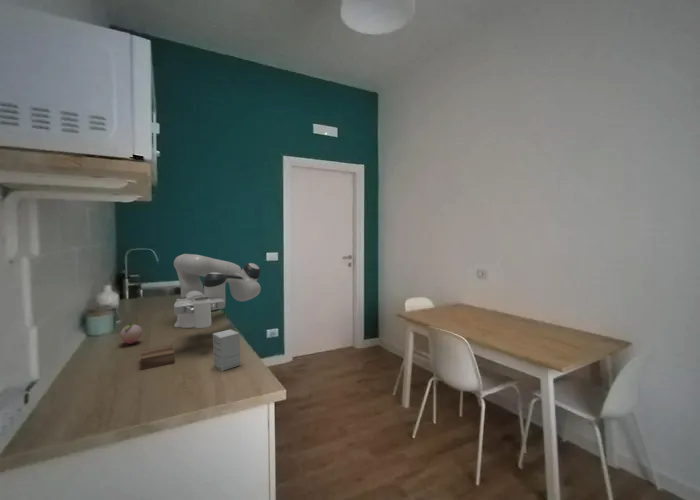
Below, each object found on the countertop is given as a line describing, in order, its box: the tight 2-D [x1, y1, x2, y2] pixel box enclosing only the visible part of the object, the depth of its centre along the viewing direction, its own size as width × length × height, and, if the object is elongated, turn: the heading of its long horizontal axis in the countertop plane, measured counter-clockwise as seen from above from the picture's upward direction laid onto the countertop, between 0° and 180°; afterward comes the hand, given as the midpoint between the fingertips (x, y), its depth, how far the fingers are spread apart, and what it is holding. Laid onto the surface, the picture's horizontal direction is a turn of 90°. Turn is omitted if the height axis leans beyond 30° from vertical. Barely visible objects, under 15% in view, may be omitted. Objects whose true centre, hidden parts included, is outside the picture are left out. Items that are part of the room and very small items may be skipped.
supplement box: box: [212, 329, 241, 372], centre depth 125 cm, size 7×7×13 cm
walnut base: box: [140, 344, 176, 370], centre depth 130 cm, size 11×11×4 cm
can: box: [194, 297, 212, 330], centre depth 138 cm, size 6×6×12 cm
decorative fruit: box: [119, 322, 143, 345], centre depth 151 cm, size 9×8×10 cm
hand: (202, 309), depth 137 cm, fingers closed on can, 6 cm apart
